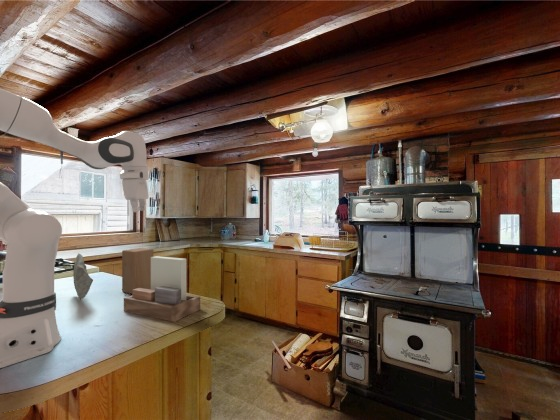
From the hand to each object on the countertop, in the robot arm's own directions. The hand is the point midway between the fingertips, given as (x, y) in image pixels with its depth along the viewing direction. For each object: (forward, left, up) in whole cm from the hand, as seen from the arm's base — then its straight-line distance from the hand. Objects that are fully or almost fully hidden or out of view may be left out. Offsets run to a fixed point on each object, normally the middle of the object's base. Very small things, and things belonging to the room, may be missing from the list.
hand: (139, 211), depth 108 cm
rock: (0, +36, -39) cm, 53 cm away
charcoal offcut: (+2, -13, -39) cm, 41 cm away
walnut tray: (+5, -7, -39) cm, 40 cm away
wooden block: (+20, +25, -39) cm, 50 cm away
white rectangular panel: (+8, -7, -39) cm, 40 cm away
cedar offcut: (+2, -1, -39) cm, 39 cm away
